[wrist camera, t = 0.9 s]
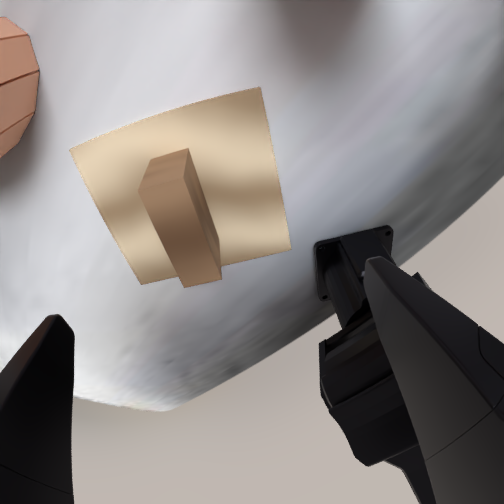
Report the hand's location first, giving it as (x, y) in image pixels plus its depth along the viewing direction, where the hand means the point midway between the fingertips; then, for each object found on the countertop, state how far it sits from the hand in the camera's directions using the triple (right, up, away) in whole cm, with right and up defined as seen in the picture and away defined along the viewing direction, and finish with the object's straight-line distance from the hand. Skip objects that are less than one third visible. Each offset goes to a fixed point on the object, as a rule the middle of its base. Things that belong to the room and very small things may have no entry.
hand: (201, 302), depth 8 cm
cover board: (-3, +5, +12) cm, 14 cm away
